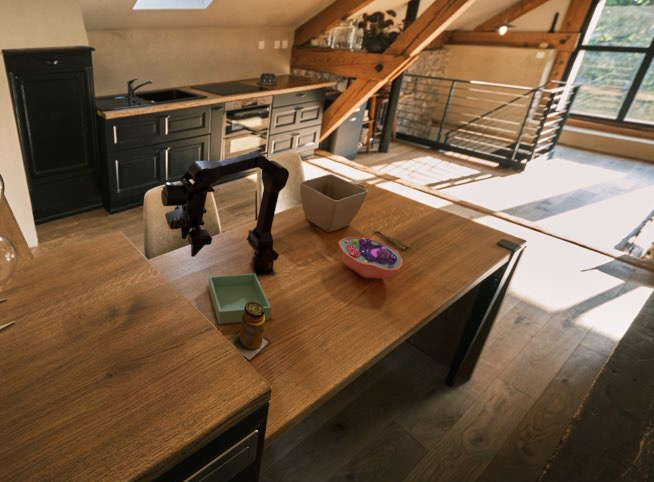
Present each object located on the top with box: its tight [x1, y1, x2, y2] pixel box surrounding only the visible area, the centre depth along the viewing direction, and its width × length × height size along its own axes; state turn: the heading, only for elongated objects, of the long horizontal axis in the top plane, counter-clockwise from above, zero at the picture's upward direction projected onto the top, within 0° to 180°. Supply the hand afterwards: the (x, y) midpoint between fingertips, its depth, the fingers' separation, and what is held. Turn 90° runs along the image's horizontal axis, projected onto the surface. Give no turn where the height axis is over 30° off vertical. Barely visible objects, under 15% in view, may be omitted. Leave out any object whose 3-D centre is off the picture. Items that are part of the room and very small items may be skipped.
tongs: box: [374, 230, 410, 251], centre depth 148 cm, size 4×13×2 cm, turn 35°
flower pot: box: [299, 173, 369, 233], centre depth 158 cm, size 19×19×17 cm
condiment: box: [229, 302, 269, 361], centre depth 101 cm, size 7×8×12 cm
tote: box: [207, 272, 272, 325], centre depth 117 cm, size 15×15×5 cm
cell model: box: [338, 236, 404, 280], centre depth 130 cm, size 17×20×11 cm
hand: (188, 247), depth 119 cm, fingers open, 9 cm apart
